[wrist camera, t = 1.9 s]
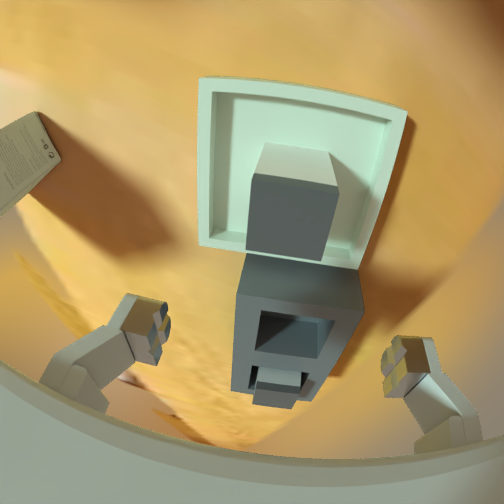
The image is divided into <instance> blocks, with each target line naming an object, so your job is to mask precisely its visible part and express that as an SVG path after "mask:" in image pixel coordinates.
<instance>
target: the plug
mask: <svg viewBox="0 0 504 504" xmlns="http://www.w3.org/2000/svg"><path fill="white" fill-rule="evenodd" d="M339 194H340V193H339V189H338V185H337V182H336V178H335V174H334V170H333V167H332V163H331V160H330V156H329V153H328V152H327V151H322V150H316V149H310V148H304V147H298V146H292V145H285V144H278V143H271V142H265V144H264V146H263V149H262V152H261V155H260V157H259V160H258V163H257V166H256V168H255V171H254V174H253V177H252V180H251V190H250V202H249V213H248V224H247V236H246V248H245V250H249V251H256V252H262V253H269V254H275V255H282V256H288V257H295V258H301V259H308V260H314V261H321V260H322V257H323V253H324V250H325V246H326V243H327V239H328V236H329V232H330V228H331V225H332V221H333V217H334V214H335V210H336V206H337V202H338V198H339Z"/></svg>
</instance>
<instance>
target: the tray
mask: <svg viewBox="0 0 504 504" xmlns="http://www.w3.org/2000/svg"><path fill="white" fill-rule="evenodd" d="M407 113H408V112H407V111H406V110H404V109H402V108H401V107H399V106H396V105H393V104H389V103H386V102H382V101H379V100H375V99H371V98H367V97H363V96H359V95H355V94H351V93H346V92H342V91H337V90H332V89H327V88H322V87H316V86H310V85H304V84H298V83H291V82H283V81H275V80H266V79H256V78H244V77H228V76H205V77H201V78H199V93H198V133H197V195H198V237H199V246H206V247H212V248H219V249H225V250H232V251H238V252H245V253H251V254H258V255H264V256H271V257H277V258H284V259H290V260H297V261H303V262H310V263H316V264H323V265H329V266H336V267H343V268H349V269H356V270H358V268H359V265H360V263H361V260H362V258H363V255H364V252H365V250H366V247H367V245H368V242H369V239H370V236H371V234H372V231H373V228H374V225H375V222H376V220H377V217H378V214H379V211H380V208H381V205H382V202H383V199H384V196H385V193H386V189H387V186H388V183H389V180H390V177H391V173H392V170H393V166H394V163H395V159H396V156H397V152H398V149H399V145H400V141H401V137H402V133H403V129H404V125H405V121H406V117H407ZM265 142H271V143H278V144H285V145H292V146H298V147H304V148H310V149H316V150H322V151H327V152H328V153H329V156H330V160H331V163H332V167H333V170H334V174H335V178H336V182H337V185H338V189H339V193H340V194H339V198H338V202H337V206H336V210H335V214H334V217H333V221H332V225H331V228H330V232H329V236H328V239H327V243H326V246H325V250H324V253H323V257H322V260H321V261H314V260H308V259H301V258H295V257H288V256H282V255H275V254H269V253H262V252H256V251H249V250H245V248H246V236H247V224H248V213H249V202H250V190H251V180H252V177H253V174H254V171H255V168H256V166H257V163H258V160H259V157H260V155H261V152H262V149H263V146H264V144H265Z"/></svg>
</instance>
